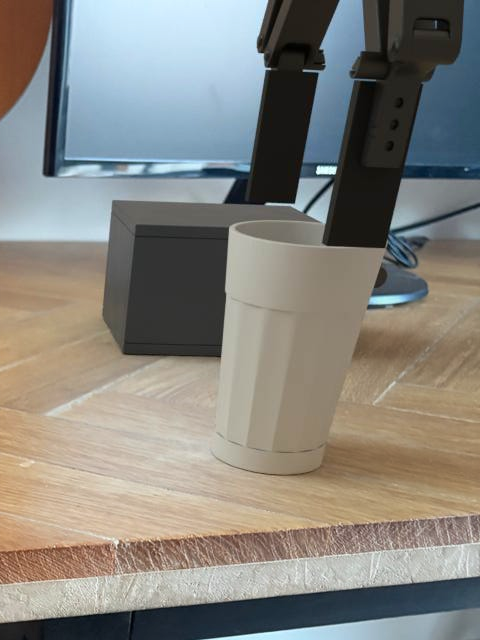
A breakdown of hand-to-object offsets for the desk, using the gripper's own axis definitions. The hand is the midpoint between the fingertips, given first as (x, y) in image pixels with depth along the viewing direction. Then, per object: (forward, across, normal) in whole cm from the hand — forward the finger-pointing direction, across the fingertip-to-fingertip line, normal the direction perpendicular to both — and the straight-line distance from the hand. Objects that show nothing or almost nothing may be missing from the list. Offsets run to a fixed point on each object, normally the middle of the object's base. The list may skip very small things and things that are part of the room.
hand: (306, 222), depth 51 cm
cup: (+13, 0, 0) cm, 13 cm away
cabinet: (+12, -26, +2) cm, 29 cm away
